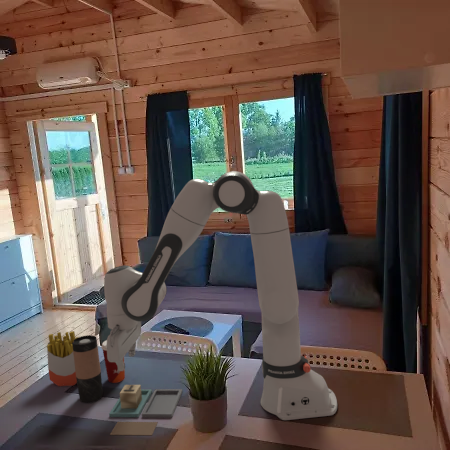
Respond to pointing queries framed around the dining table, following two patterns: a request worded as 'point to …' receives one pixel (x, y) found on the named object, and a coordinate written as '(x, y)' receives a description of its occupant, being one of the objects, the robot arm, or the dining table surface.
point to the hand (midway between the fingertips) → (127, 362)
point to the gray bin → (162, 403)
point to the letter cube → (130, 396)
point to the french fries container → (61, 359)
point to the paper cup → (112, 367)
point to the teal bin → (129, 412)
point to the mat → (134, 428)
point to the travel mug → (87, 368)
